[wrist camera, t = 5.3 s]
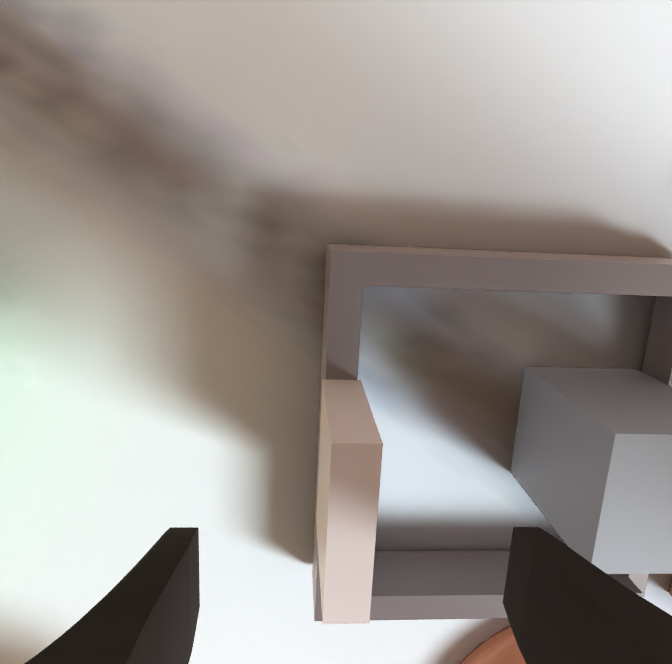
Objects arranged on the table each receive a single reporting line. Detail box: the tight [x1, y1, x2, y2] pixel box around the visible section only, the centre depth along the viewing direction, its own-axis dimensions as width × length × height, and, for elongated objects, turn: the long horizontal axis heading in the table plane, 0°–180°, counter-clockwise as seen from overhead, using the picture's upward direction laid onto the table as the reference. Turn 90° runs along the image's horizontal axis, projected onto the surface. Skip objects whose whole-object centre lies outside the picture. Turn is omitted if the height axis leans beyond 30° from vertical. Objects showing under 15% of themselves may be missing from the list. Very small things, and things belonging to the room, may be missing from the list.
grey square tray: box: [312, 244, 672, 624], centre depth 17 cm, size 13×13×7 cm
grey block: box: [510, 366, 672, 574], centre depth 18 cm, size 4×4×6 cm
